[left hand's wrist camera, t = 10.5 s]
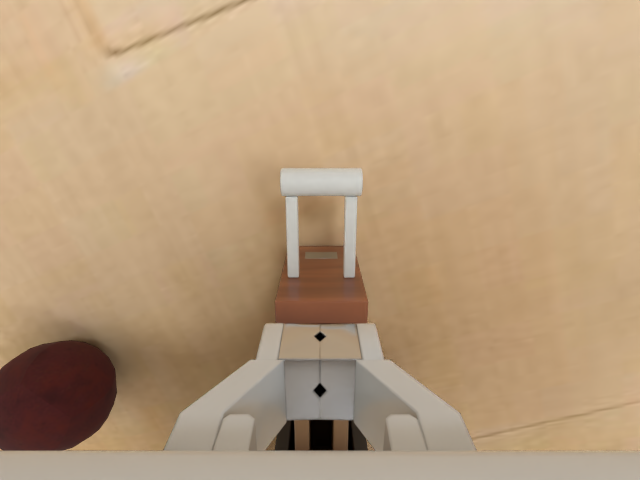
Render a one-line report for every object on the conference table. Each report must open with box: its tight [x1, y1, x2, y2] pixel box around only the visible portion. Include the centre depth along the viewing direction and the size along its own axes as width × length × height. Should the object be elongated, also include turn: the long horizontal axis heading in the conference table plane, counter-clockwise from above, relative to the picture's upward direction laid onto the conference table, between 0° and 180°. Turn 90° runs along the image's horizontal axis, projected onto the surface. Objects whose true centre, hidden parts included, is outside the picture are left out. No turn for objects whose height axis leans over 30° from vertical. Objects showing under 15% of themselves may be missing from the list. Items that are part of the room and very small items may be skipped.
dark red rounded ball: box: [0, 340, 117, 451], centre depth 26 cm, size 7×8×7 cm
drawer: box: [275, 168, 368, 451], centre depth 23 cm, size 22×4×8 cm, turn 0°
